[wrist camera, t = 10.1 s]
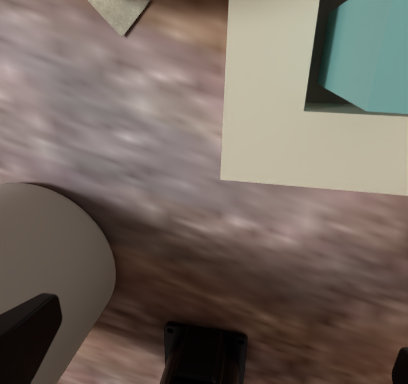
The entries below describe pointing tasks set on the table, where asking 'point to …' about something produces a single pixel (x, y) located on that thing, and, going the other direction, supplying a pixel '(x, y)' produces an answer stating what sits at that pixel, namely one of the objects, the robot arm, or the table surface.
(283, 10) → the socket block
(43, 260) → the cylinder vase
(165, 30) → the table surface
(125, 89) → the table surface
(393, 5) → the peg
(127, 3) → the condiment
